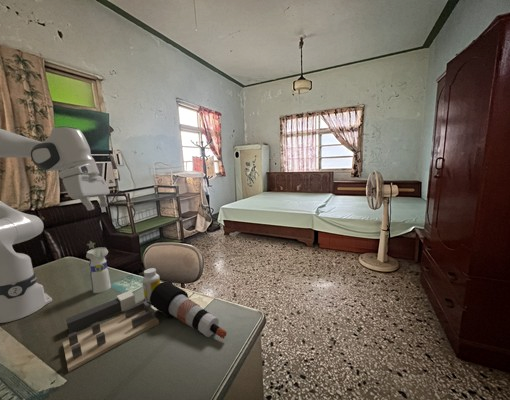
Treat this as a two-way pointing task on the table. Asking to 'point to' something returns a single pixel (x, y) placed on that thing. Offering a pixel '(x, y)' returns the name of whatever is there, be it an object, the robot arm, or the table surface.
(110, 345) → the clip board
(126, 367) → the table surface
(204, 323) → the cable
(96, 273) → the water bottle
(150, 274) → the supplement bottle
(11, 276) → the robot arm
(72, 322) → the bar
